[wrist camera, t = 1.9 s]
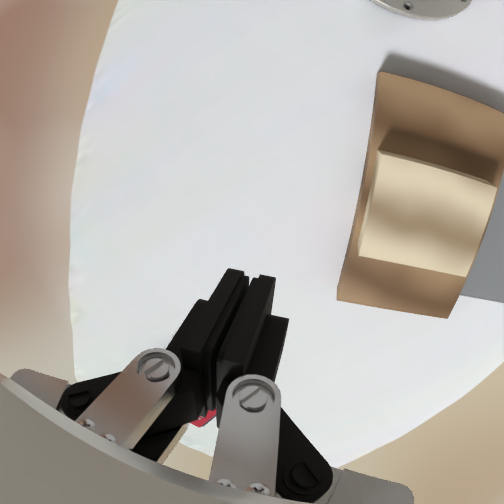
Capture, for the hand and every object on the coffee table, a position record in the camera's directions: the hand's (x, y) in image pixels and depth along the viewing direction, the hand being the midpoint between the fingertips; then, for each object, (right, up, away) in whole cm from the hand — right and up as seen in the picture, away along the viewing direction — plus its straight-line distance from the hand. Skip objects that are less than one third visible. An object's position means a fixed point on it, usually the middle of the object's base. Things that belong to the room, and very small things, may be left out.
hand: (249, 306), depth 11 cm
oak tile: (+14, +5, +11) cm, 18 cm away
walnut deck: (+15, +6, +12) cm, 20 cm away
